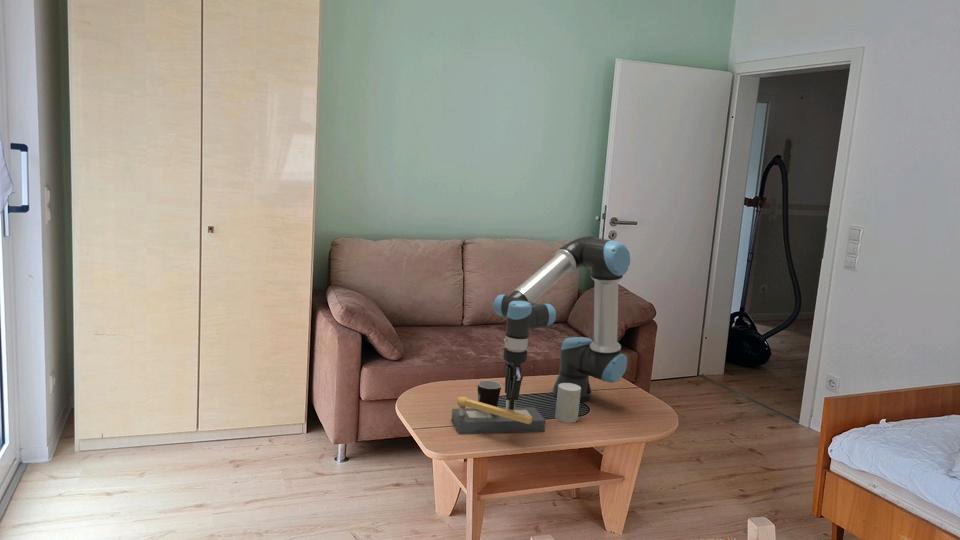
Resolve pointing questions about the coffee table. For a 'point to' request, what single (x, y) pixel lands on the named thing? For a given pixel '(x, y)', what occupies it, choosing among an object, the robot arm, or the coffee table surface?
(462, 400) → the bar
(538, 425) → the chassis
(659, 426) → the coffee table surface
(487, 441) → the coffee table surface
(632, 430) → the coffee table surface
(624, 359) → the robot arm
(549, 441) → the coffee table surface
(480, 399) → the coffee mug
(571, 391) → the gray cylinder
